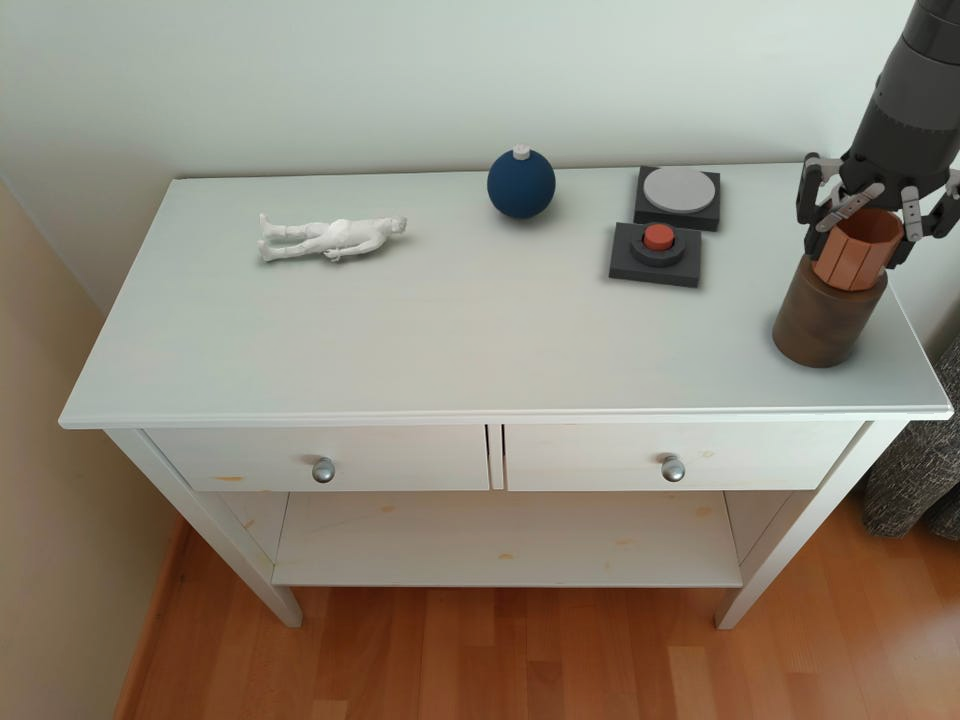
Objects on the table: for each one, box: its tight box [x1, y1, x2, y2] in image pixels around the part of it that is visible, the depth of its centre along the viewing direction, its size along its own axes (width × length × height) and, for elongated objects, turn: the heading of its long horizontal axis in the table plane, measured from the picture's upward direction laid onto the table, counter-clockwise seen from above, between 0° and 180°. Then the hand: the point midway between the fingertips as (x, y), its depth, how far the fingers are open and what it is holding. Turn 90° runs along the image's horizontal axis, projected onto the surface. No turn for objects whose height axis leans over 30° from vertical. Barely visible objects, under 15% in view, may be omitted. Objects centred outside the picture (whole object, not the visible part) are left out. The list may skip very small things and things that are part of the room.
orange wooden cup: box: [812, 209, 904, 291], centre depth 68 cm, size 6×6×6 cm
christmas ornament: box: [486, 143, 557, 220], centre depth 89 cm, size 8×8×10 cm
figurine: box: [257, 212, 409, 263], centre depth 89 cm, size 7×4×18 cm
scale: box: [632, 165, 721, 232], centre depth 92 cm, size 10×9×3 cm
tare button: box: [644, 224, 674, 251], centre depth 84 cm, size 3×3×1 cm
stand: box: [771, 252, 889, 369], centre depth 74 cm, size 8×8×10 cm
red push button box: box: [608, 221, 702, 289], centre depth 85 cm, size 10×8×3 cm
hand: (850, 258), depth 69 cm, fingers closed on orange wooden cup, 6 cm apart
